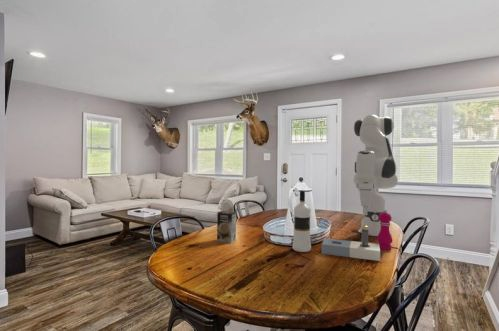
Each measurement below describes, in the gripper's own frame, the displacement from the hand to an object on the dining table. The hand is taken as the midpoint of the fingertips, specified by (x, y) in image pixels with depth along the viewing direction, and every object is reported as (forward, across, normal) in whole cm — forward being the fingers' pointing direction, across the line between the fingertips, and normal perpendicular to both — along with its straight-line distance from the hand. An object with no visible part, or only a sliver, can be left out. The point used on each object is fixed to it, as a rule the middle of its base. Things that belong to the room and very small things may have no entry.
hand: (365, 213), depth 136 cm
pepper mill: (+20, -16, +9) cm, 28 cm away
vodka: (+20, +4, -30) cm, 36 cm away
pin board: (+20, 0, -7) cm, 21 cm away
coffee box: (+20, +4, -72) cm, 75 cm away
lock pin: (+20, 0, 0) cm, 20 cm away
